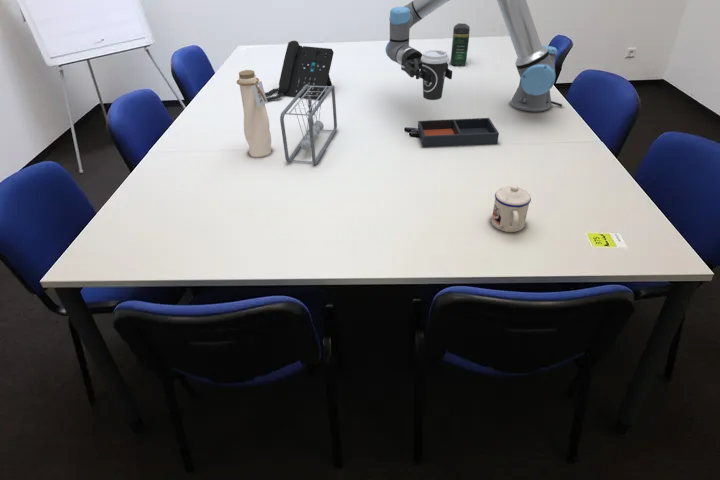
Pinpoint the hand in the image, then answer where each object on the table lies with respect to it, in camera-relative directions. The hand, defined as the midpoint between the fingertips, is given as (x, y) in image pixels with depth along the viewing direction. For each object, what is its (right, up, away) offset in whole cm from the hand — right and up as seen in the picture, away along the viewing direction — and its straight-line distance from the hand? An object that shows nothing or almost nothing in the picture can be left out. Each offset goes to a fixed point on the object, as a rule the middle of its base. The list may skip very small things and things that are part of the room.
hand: (440, 77), depth 159 cm
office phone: (-57, +10, +52) cm, 78 cm away
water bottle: (-62, -24, +8) cm, 67 cm away
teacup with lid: (+13, -52, -32) cm, 62 cm away
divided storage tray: (+8, -18, +12) cm, 23 cm away
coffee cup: (-1, -4, +9) cm, 10 cm away
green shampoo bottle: (+23, +34, +80) cm, 90 cm away
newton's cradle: (-44, -22, +10) cm, 50 cm away
